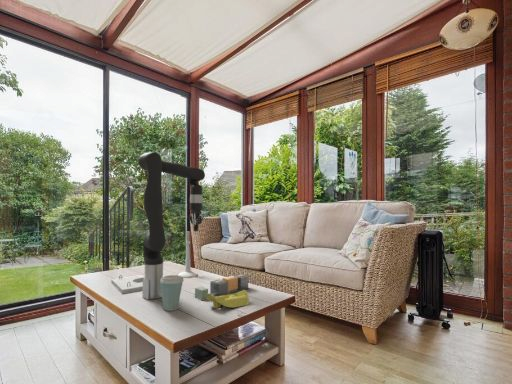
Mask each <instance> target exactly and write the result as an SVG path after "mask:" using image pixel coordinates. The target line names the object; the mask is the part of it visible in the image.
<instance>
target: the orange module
mask: <svg viewBox="0 0 512 384" xmlns="http://www.w3.org/2000/svg"><path fill="white" fill-rule="evenodd" d="M221 280H224V281H227V282H228V291H230V290H234V289H237V288H238V277H234V275H229V276H225V277H222V279H221Z"/></svg>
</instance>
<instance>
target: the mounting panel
mask: <svg viewBox="0 0 512 384" xmlns="http://www.w3.org/2000/svg"><path fill="white" fill-rule="evenodd" d="M164 276H167V275H166V274H164V273H163V277H164ZM118 277H119V278H117V277H116V278H112V279H111V280H110V283H111V284H112V285H113V286H114V287H115V288H116V289H117V290H118V291H119V292H120V294H122V295H123V294H129V293H136V292H142V291H143V278H144V274H138V275H132V276H131V275H130V276H125V277H123V275H122V274H121V275H119V276H118Z"/></svg>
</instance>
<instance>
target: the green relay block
mask: <svg viewBox="0 0 512 384" xmlns="http://www.w3.org/2000/svg"><path fill="white" fill-rule="evenodd" d="M208 294H209V288H208V287H204V286H197V287H195V288H194V298H195V299H197V300H200V301H205V300H207V299H206V297H207V296H208Z"/></svg>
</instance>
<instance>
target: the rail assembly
mask: <svg viewBox="0 0 512 384" xmlns="http://www.w3.org/2000/svg"><path fill="white" fill-rule="evenodd" d="M233 276H234V277H238V288H237V289H234V290H230V291H228V282H227V281H224V280H222V279H215V280H211V281H210V282H209V283H210V287H209V288H210V289H209V290H210V292H208V296H209V295H214V296H221V295H228V294H232V293H234V292H237V291H238V292H240V291H243V290H247V289H249V275H245V274H241V273H239V274H236V275H235V274H234V275H233Z"/></svg>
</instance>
